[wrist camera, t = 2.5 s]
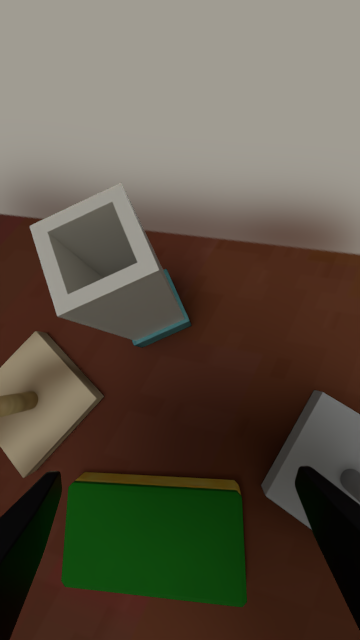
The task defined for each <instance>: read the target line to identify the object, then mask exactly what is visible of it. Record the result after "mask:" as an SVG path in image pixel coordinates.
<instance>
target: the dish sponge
mask: <svg viewBox="0 0 360 640" xmlns="http://www.w3.org/2000/svg"><path fill="white" fill-rule="evenodd" d="M61 581H62V583H63V584H64V586H65V587H72V588H80V589H89V590H98V591H106V592H115V593H124V594H132V595H141V596H150V597H158V598H167V599H175V600H184V601H193V602H201V603H210V604H219V605H227V606H236V607H243V606H244V605H245V603H246V602H247V593H246V573H245V552H244V531H243V510H242V496H241V492H240V488H239V485H238V484H237V483H236V481H235V480H224V479H205V478H187V477H168V476H149V475H131V474H112V473H94V472H84V473H83V474H82V475H81V476H80V477H79V478H78V479H77V480H76V481H74V482H73V483H72V484H71V485H70V486H69V488H68V501H67V514H66V527H65V540H64V553H63V566H62V580H61Z"/></svg>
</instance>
